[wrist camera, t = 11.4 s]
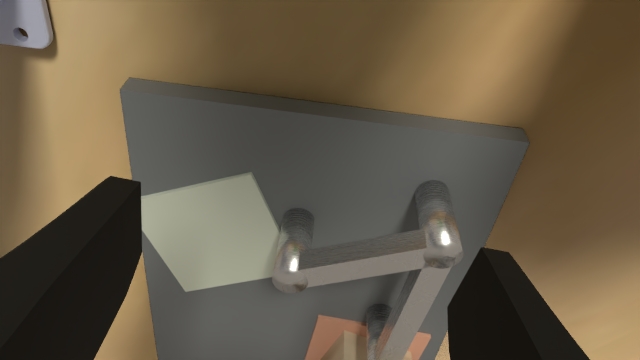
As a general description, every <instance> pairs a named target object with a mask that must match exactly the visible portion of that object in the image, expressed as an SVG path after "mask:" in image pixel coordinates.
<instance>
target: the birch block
mask: <svg viewBox="0 0 640 360" xmlns="http://www.w3.org/2000/svg"><path fill="white" fill-rule="evenodd" d="M320 360H367V337H364V336H361V335H358V334H355V333H351V332H348V331H345V330H344V331H343V332H342V334H341V335H340V336H339V337H338V339H337V340H336V341H335V342H334V343H333V345H332V346H331V347H330V348H329V350H328V351H327V352H326V353H325V355H324V356H323V357H322V358H321V359H320ZM403 360H412V355H411V352H409V351H407V353H406V354H405V356H404V358H403Z"/></svg>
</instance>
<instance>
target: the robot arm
mask: <svg viewBox="0 0 640 360" xmlns="http://www.w3.org/2000/svg"><path fill="white" fill-rule="evenodd" d="M19 28H22V29H24V30H25V31H26V32H27V34H28V37H25V36H23V35H22V34H21V33H20V31H19ZM52 41H53V31H52V27H51V22H50V17H49V13H48V8H47V3H46V0H0V44H4V45H12V46H19V47H27V48H35V49H44V48H46V47H47V46H48V45H50V44H51V43H52ZM141 253H142V215H141V182H139V181H134V180H129V179H123V178H118V177H113V176H110V177H108V178H107V179H105V180H104V181H103V182H101V183H100V184H99V185H97V186H96V187H95V188H94V189H92V190H91V191H90V192H89V193H87V194H86V195H85V196H84V197H82V198H81V199H80V200H79V201H77V202H76V203H75V204H74V205H72V206H71V207H70V208H69V209H67V210H66V211H65V212H63V213H62V214H61V215H60V216H58V217H57V218H56V219H54V220H53V221H52V222H50V223H49V224H48V225H46V226H45V227H44V228H42V229H41V230H39V231H38V232H37V233H35V234H34V235H33V236H31V237H30V238H29V239H27V240H26V241H25V242H23V243H22V244H20V245H19V246H18V247H16V248H15V249H13V250H12V251H10V252H9V253H7V254H6V255H4V256H3V257H1V258H0V360H94V358H95V356H96V354H97V352H98V350H99V348H100V346H101V344H102V342H103V340H104V338H105V336H106V334H107V333H108V331H109V329H110V327H111V325H112V323H113V321H114V319H115V317H116V315H117V313H118V311H119V309H120V307H121V305H122V303H123V301H124V299H125V297H126V295H127V292H128V289H129V287H130V284H131V281H132V279H133V276H134V273H135V270H136V267H137V265H138V262H139V259H140V256H141ZM447 314H448V339H449V353H450V359H451V360H590V359H589V358H588V357H587V355H586V354H585V353H584V352H583V350H582V349H581V348H580V347H579V345H578V344H577V343H576V341H575V340H574V339H573V338H572V336H571V335H570V334H569V332H568V331H567V330H566V328H565V327H564V326H563V325H562V323H561V322H560V321H559V319H558V318H557V317H556V315H555V314H554V313H553V311H552V310H551V309H550V307H549V306H548V305H547V303H546V302H545V300H544V299H543V298H542V296H541V295H540V294H539V292H538V291H537V290H536V288H535V287H534V285H533V284H532V283H531V281H530V280H529V279H528V277H527V276H526V275H525V273H524V272H523V271H522V269H521V268H520V266H519V265H518V264H517V263H516V261H515V260H514V259H513V257H512V256H511V255H510V254H509V252H504V251H499V250H494V249H489V248H484V247H481V248H480V250H479V252H478V253H477V255H476V257H475V259H474V260H473V262H472V264H471V266H470V268H469V269H468V271H467V273H466V275H465V276H464V278H463V280H462V282H461V283H460V285H459V287H458V289H457V290H456V292H455V294H454V296H453V298H452V299H451V301H450V303H449V305H448V306H447Z"/></svg>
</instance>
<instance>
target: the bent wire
mask: <svg viewBox="0 0 640 360" xmlns="http://www.w3.org/2000/svg"><path fill="white" fill-rule="evenodd" d="M415 199H416V206H417V214H418V221H419V228H420V230H415V231H409V232H404V233H398V234H393V235H387V236H382V237H376V238H371V239H365V240H360V241H354V242H349V243H344V244H338V245H333V246H327V247H322V248H316V249H312V241H313V231H314V217H313V215H312V214H311V213H310V212H309V211H307V210H305V209H302V208H293V209H290V210H288V211H286V212H285V214H284V215H283V219H282V225H281V231H280V237H279V242H278V248H277V254H276V260H275V265H274V271H273V277H272V282H273V284H274V286H275V287H276V288H277V289H279V290H280V291H283V292H286V293H298V292H301V291H303V290H304V289H306V288H307V287H313V286H319V285H325V284H331V283H337V282H343V281H349V280H356V279H362V278H368V277H374V276H380V275H386V274H392V273H398V272H404V271H409V274H408V276H407V278H406V280H405V282H404V285H403V287H402V289H401V291H400V293H399V296H398V298H397V300H396V302H395V304H394V306H393V309H392V308H391V307H390V306H388V305H385V304H375V305H372V306H370V307H369V308H368V309H367V311H366V324H367V360H403V358H404V356H405V354H406V353H407V351H408V349H409V347H410V345H411V343H412V341H413V339H414V337H415V336H416V334H417V332H418V330H419V328H420V326H421V324H422V322H423V320H424V319H425V317H426V315H427V313H428V311H429V309H430V307H431V305H432V303H433V302H434V300H435V298H436V296H437V294H438V292H439V290H440V288H441V286H442V285H443V283H444V281H445V279H446V277H447V275H448V273H449V271H450V269H451V267H453V266H455V265H456V264H458V263H459V262H460V261H461V259H462V258H463V250H462V245H461V241H460V236H459V232H458V227H457V223H456V218H455V214H454V209H453V205H452V201H451V196H450V192H449V188H448V186H447V185H446V184H445V183H443V182H441V181H437V180H430V181H426V182H424V183H422V184H421V185H419V186H418V187H417V189H416V191H415Z"/></svg>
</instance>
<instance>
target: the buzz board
mask: <svg viewBox="0 0 640 360" xmlns="http://www.w3.org/2000/svg"><path fill="white" fill-rule="evenodd" d="M120 96H121V103H122V110H123V117H124V124H125V131H126V138H127V145H128V152H129V159H130V166H131V173H132V180H134V181H139V182H141V215H142V251H143V258H144V265H145V272H146V279H147V286H148V293H149V300H150V307H151V314H152V321H153V328H154V335H155V342H156V349H157V357H158V360H320V359H321V358H322V357H323V356H324V355H325V353H326V352H327V351H328V350H329V348H330V347H331V346H332V345H333V343H334V342H335V341H336V340H337V339H338V337H339V336H340V335H341V334H342V332H343V331H344V330H345V331H348V332H351V333H355V334H358V335H361V336H364V337H367V324H366V311H367V309H368V308H369V307H370V306H372V305H375V304H385V305H388V306H390V307H391V308H392V309H393V306H394V304H395V302H396V300H397V298H398V296H399V293H400V291H401V289H402V287H403V285H404V282H405V280H406V278H407V276H408V274H409V271H404V272H398V273H392V274H386V275H380V276H374V277H368V278H362V279H356V280H349V281H343V282H337V283H331V284H325V285H319V286H313V287H307V288H306V289H304V290H303V291H301V292H298V293H286V292H283V291H280V290H279V289H277V288H276V287H275V286H274V284H273V282H272V277H273V271H274V265H275V260H276V254H277V248H278V242H279V237H280V231H281V225H282V219H283V215H284V214H285V212H286V211H288V210H290V209H293V208H302V209H305V210H307V211H309V212H310V213H311V214H312V215H313V217H314V231H313V241H312V249H316V248H322V247H327V246H333V245H338V244H344V243H349V242H354V241H360V240H365V239H371V238H376V237H382V236H387V235H393V234H398V233H404V232H409V231H415V230H420V228H419V221H418V214H417V206H416V199H415V191H416V189H417V187H418V186H419V185H421V184H422V183H424V182H426V181H430V180H437V181H441V182H443V183H445V184H446V185H447V186H448V188H449V192H450V196H451V201H452V205H453V209H454V214H455V218H456V223H457V227H458V232H459V236H460V241H461V245H462V250H463V258H462V259H461V261H460V262H459V263H458V264H456V265H455V266H453V267H451V269H450V271H449V273H448V275H447V277H446V279H445V281H444V283H443V285H442V286H441V288H440V290H439V292H438V294H437V296H436V298H435V300H434V302H433V303H432V305H431V307H430V309H429V311H428V313H427V315H426V317H425V319H424V320H423V322H422V324H421V326H420V328H419V330H418V332H417V334H416V336H415V337H414V339H413V341H412V343H411V345H410V347H409V349H408V351H409V352H411V355H412V360H435V357H436V355H437V353H438V351H439V348H440V346H441V344H442V341H443V339H444V337H445V335H446V332H447V330H448V314H447V306H448V305H449V303H450V301H451V299H452V298H453V296H454V294H455V292H456V290H457V289H458V287H459V285H460V283H461V282H462V280H463V278H464V276H465V275H466V273H467V271H468V269H469V268H470V266H471V264H472V262H473V260H474V259H475V257H476V255H477V253H478V252H479V250H480V248H481V247H484V246H485V244H486V242H487V239H488V237H489V235H490V232H491V230H492V228H493V226H494V223H495V221H496V219H497V217H498V214H499V212H500V210H501V207H502V205H503V203H504V201H505V198H506V196H507V194H508V192H509V189H510V187H511V185H512V182H513V180H514V178H515V176H516V173H517V171H518V169H519V167H520V164H521V162H522V160H523V158H524V155H525V153H526V151H527V148H528V146H529V144H530V142H529V140H528V138H527V136H526V133H525V131H524V129H521V128H514V127H506V126H498V125H490V124H483V123H475V122H467V121H460V120H452V119H444V118H436V117H429V116H421V115H413V114H406V113H398V112H390V111H383V110H375V109H367V108H359V107H352V106H344V105H336V104H329V103H321V102H313V101H305V100H298V99H290V98H282V97H275V96H267V95H259V94H251V93H244V92H236V91H228V90H221V89H213V88H205V87H197V86H190V85H182V84H174V83H167V82H159V81H151V80H144V79H136V78H129V79H128V80H127V81H126V82H125V84H124V85H123V86H122V88H121V89H120Z"/></svg>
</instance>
